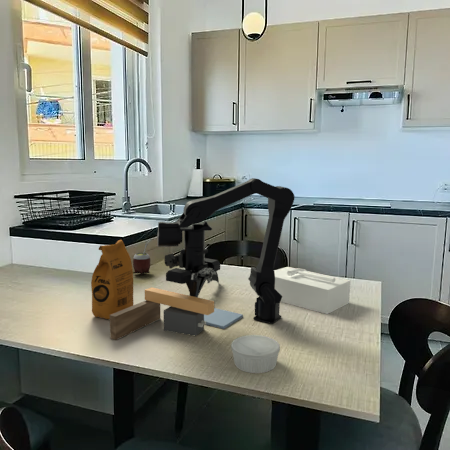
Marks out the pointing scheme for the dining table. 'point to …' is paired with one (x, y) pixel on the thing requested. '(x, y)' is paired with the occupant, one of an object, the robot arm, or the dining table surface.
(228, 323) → the pad
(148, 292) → the tan wooden bar
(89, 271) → the dining table surface
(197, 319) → the charcoal wedge block
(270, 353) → the ramekin
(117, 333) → the rail
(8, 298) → the dining table surface
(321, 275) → the tissue box
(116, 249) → the coffee package
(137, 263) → the mate gourd
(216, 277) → the grey curved piece
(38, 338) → the dining table surface
